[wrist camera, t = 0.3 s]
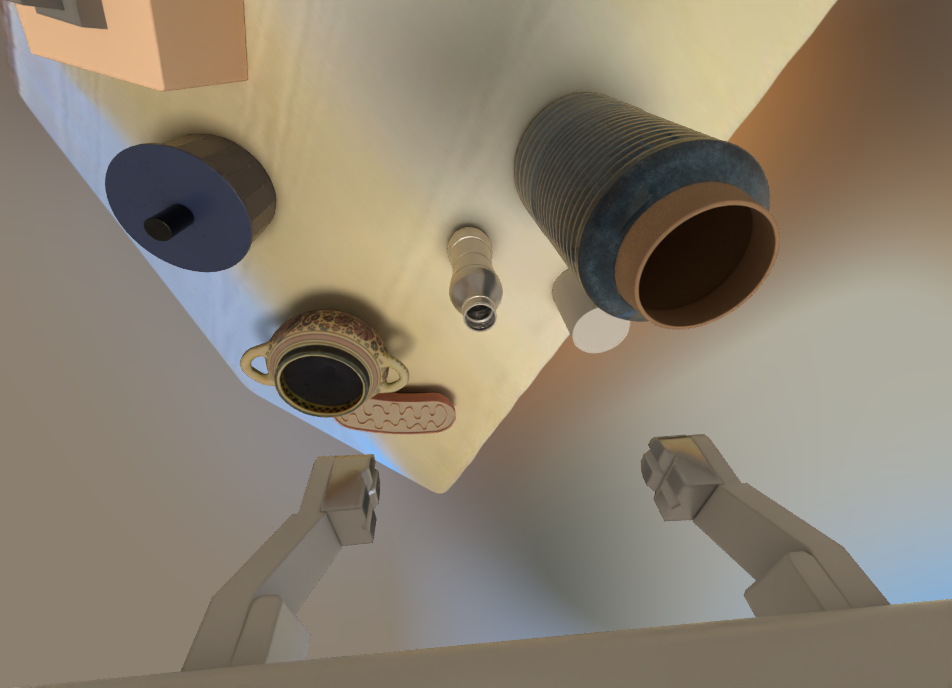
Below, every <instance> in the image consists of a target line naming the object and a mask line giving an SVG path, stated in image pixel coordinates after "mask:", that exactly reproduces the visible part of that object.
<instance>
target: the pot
mask: <svg viewBox="0 0 952 688" xmlns="http://www.w3.org/2000/svg"><path fill="white" fill-rule="evenodd" d="M162 144H166V145H171V146H175V147H178V148H181V149H184V150H186V151H189V152H191V153H193V154H195V155H197V156H199V157H201V158H203V159H204V160H206V161H207V162H209V163H210V164H212V165H213V166H214V167H216V168H217V169H218V170H219V171H220V172H222V173H223V174H224V175H225V176H226V177H227V178H228V179H229V180H230V181H231V183H232V184H233V185H234V186H235V187H236V189H237V190H238V191H239V193H240V194H241V196H242V197H243V199H244V201H245V203H246V205H247V207H248V210H249V212H250V215H251V219H252V224H253V239H252V242H253V241H254V240H255V239H256V238H257V237H258V236H259V235H260V234H261V233H262V232H263V231H264V230H265V228H266V227H267V226H268V224H269V223H270V222H271V220H272V219H273V217H274V214H275V209H276V195H275V191H274V187H273V185H272V182H271V180H270V178H269V176H268V174H267V173H266V171H265V169H264V168H263V167H262V165H261V164H260V163H259V162H258V161H257V160H256V159H255V158H254V156H252V155H251V154H250V153H249V152H248V151H247V150H245V149H244V148H242V147H241V146H239V145H238V144H236V143H234V142H232V141H230V140H228V139H226V138H223V137H220V136H216V135H211V134H195V135H192V134H190V135H187V136H184V137H181V138H178V139H175V140H172V141H168V142H165V143H162Z"/></svg>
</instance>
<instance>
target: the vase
mask: <svg viewBox="0 0 952 688" xmlns="http://www.w3.org/2000/svg"><path fill="white" fill-rule="evenodd" d="M515 183H516V188H517V192H518V195H519V197H520V200H521V201H522V203H523V205H524V206H525V208H526V209H527V211H528V212H529V214H530V215H531V217H532V218H533V219H534V221H535V222H536V224H537V225H538V227H539V228H540V229H541V231H542V232H543V233H544V235H545V236H546V237H547V238H548V239H549V241H550V242H551V244H552V245H553V247H554V248H555V249H556V251H557V252H558V254H559V255H560V256H561V258H562V259H563V261H564V262H565V263H566V265H567V266H568V268H569V269H570V271H571V272H572V273H573V275H574V276H575V278H576V279H577V280H578V282H579V283H580V285H581V286H582V287H583V289H584V291H585V293H586V294H587V296H588V297H589V299H590V300H591V301H592V302H593V303H594V304H595V305H596V306H597V307H598V308H599V309H601V310H602V311H604V312H605V313H607V314H609V315H611V316H613V317H616V318H619V319H623V320H628V321H637V322H645V321H646V322H647V321H650V322H651V323H653V324H655V325H657V326H660V327H663V328H667V329H689V328H695V327H699V326H702V325H706V324H708V323H711V322H714V321H716V320H718V319H720V318H722V317H724V316H725V315H727V314H729V313H731V312H732V311H734V310H735V309H736V308H738V307H739V306H741V305H742V304H743V303H744V302H746V301H747V300H748V299H749V298H750V297H751V296H752V295H753V294H754V293H755V292H756V291H757V290H758V289H759V287H760V286H761V285H762V284H763V282H764V281H765V279H766V278H767V276H768V275H769V273H770V272H771V270H772V268H773V266H774V263H775V261H776V258H777V254H778V251H779V245H780V233H779V228H778V225H777V223H776V220H775V218H774V217H773V215H772V214H771V213H770V212H769V209H770V192H769V186H768V181H767V178H766V176H765V173H764V171H763V169H762V167H761V166H760V164H759V163H758V161H757V160H756V159H755V158H754V157H753V156H752V155H751V154H750V153H748V152H747V151H746V150H744V149H743V148H741V147H739V146H737V145H735V144H732V143H729V142H727V141H723V140H719V139H716V138H713V137H711V136H708V135H706V134H703V133H700V132H698V131H695V130H692V129H690V128H687V127H685V126H682V125H679V124H677V123H674V122H671V121H669V120H666V119H664V118H661V117H658V116H656V115H653V114H651V113H648V112H646V111H644V110H642V109H640V108H638V107H635V106H632V105H630V104H627V103H624V102H622V101H619V100H616V99H614V98H611V97H608V96H606V95H603V94H599V93H591V92H585V93H576V94H572V95H569V96H566V97H564V98H561V99H559V100H557V101H555V102H554V103H552V104H551V105H549V106H548V107H547V108H545V109H544V110H543V111H542V112H541V113H540V114H539V115H538V116H537V117H536V118H535V119H534V121H533V122H532V123H531V124H530V126H529V127H528V129H527V130H526V132H525V134H524V136H523V138H522V140H521V142H520V145H519V148H518V151H517V155H516V160H515Z"/></svg>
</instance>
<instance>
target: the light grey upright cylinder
mask: <svg viewBox="0 0 952 688" xmlns="http://www.w3.org/2000/svg"><path fill="white" fill-rule="evenodd" d="M552 295H553V299H554V301H555V303H556V305H557V307H558V310H559V312H560V314H561V316H562V318H563V320H564V322H565V324H566V327H567V329H568V331H569V333H570V335H571V337H572V339H573V342H574V344H575V345H576V346H577V347H578V348H579V349H580V350H582V351H584V352H588V353H600V352H604V351H607V350H610V349H612V348H614V347H615V346H617V345H618V344H619V343H620V342H621V341H622V340H623V339H624V338H625V337H626V335H627V333H628V331H629V328H630V321H628V320H623V319H619V318H616V317H613V316H611V315H609V314H607V313H605V312H604V311H602V310H601V309H599V308H598V307H597V306H596V305H595V304H594V303H593V302H592V301H591V300H590V299H589V297H588V296H587V294H586V293H585V291H584V289H583V287H582V286H581V285H580V283H579V282H578V280H577V279H576V278H575V276H574V275H573V273H572V272H571V271H570V269H568V270H566V271H565V272H563V273H562V274H561V275H560V276H559V277H558V278H557V280H556V281H555V283H554V285H553V289H552Z"/></svg>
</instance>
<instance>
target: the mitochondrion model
mask: <svg viewBox="0 0 952 688" xmlns="http://www.w3.org/2000/svg"><path fill="white" fill-rule="evenodd" d="M333 418H334V419H335V421H336V422H337V423H339V424H340V425H342V426H344V427H346V428H349V429H353V430H359V431H366V432H373V433H383V434H429V433H439V432H442V431H445V430H447V429H449V428H450V427H451V426H452V425H453V424H454V422H455V419H456V413H455V408H454V406H453V404H452V402H451V401H450V400H449V399H448V398H447V397H445V396H444V395H442V394H439V393H391V392H390V393H377V394H376V395H375V396H374V397H372V398H371V399H369V400H368V401H366V402H364V403H363V404H362V405H361V406H360V407H358V408H357V409H356V410H354V411H353V412H351V413H348V414H346V415H343V416H339V417H333Z"/></svg>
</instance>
